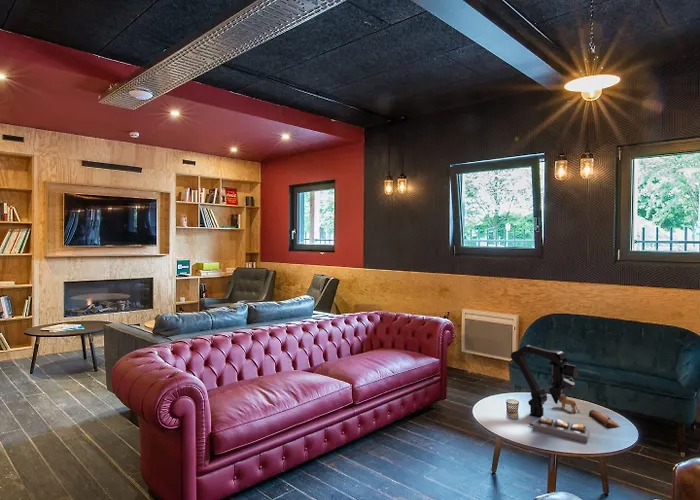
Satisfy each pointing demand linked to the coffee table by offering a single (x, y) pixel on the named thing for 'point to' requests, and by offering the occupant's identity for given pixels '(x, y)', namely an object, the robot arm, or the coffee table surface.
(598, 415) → the sunglasses case
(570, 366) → the robot arm
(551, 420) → the block
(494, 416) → the coffee table surface
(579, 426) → the rocker right
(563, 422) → the rocker middle
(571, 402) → the lion figurine
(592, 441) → the coffee table surface
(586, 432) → the power strip
